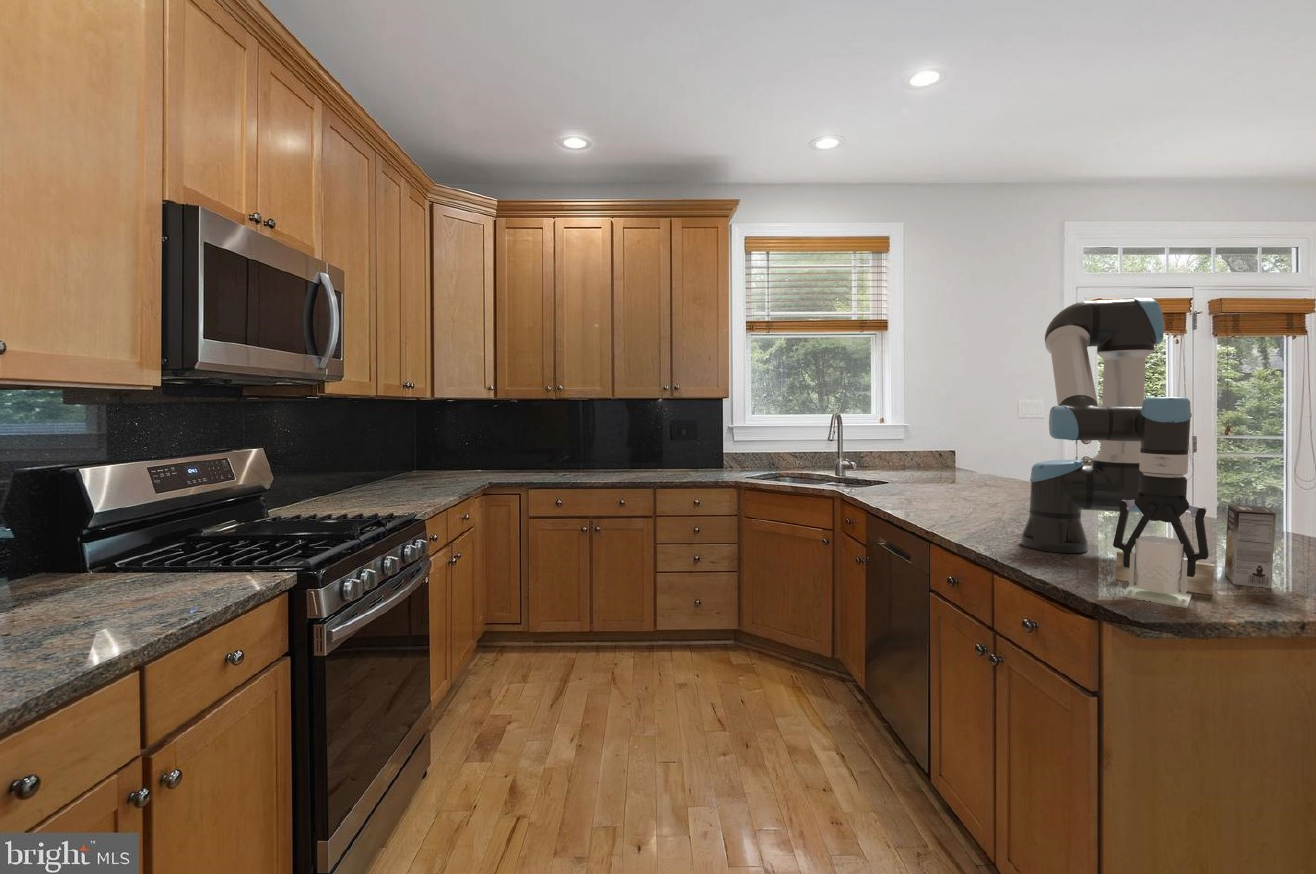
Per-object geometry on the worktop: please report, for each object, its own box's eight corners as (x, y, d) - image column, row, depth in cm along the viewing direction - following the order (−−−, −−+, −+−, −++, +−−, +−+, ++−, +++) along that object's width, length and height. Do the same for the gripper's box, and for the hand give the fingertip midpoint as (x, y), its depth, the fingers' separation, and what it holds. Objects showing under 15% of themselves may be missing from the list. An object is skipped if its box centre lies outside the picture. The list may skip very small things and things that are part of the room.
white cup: (1163, 596, 122) (1166, 545, 121) (1123, 585, 129) (1125, 537, 128) (1193, 593, 124) (1195, 542, 123) (1151, 581, 131) (1153, 534, 131)
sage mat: (1122, 596, 126) (1122, 595, 126) (1129, 586, 133) (1129, 584, 133) (1187, 608, 119) (1187, 606, 119) (1191, 596, 127) (1191, 594, 127)
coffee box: (1222, 574, 142) (1226, 504, 141) (1261, 578, 139) (1265, 506, 138) (1232, 584, 134) (1236, 510, 133) (1273, 589, 131) (1278, 513, 130)
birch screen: (1115, 579, 138) (1116, 552, 138) (1116, 578, 139) (1117, 551, 139) (1212, 595, 127) (1213, 565, 127) (1212, 593, 128) (1214, 564, 128)
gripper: (1097, 472, 129) (1092, 581, 131) (1231, 481, 115) (1224, 603, 117) (1104, 469, 135) (1099, 574, 136) (1232, 477, 121) (1226, 594, 122)
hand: (1157, 587), depth 126 cm, fingers closed on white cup, 7 cm apart
